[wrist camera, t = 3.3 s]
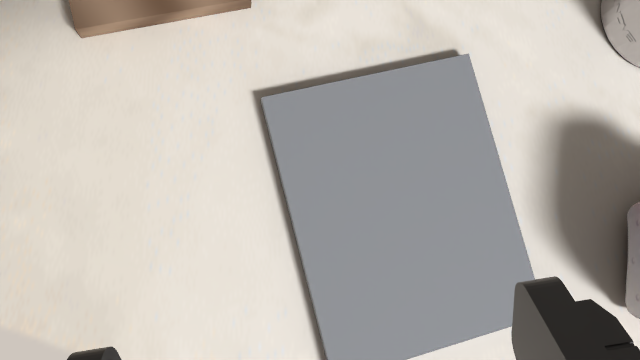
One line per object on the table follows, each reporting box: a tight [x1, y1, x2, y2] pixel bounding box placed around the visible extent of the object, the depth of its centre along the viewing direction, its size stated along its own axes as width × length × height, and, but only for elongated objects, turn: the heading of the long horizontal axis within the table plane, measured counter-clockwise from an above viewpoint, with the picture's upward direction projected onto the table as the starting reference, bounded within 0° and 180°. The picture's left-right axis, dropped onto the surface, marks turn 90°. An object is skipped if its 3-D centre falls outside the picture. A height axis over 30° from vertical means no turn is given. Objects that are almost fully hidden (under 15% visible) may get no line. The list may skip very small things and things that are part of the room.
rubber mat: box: [261, 54, 535, 360], centre depth 39 cm, size 16×20×1 cm
